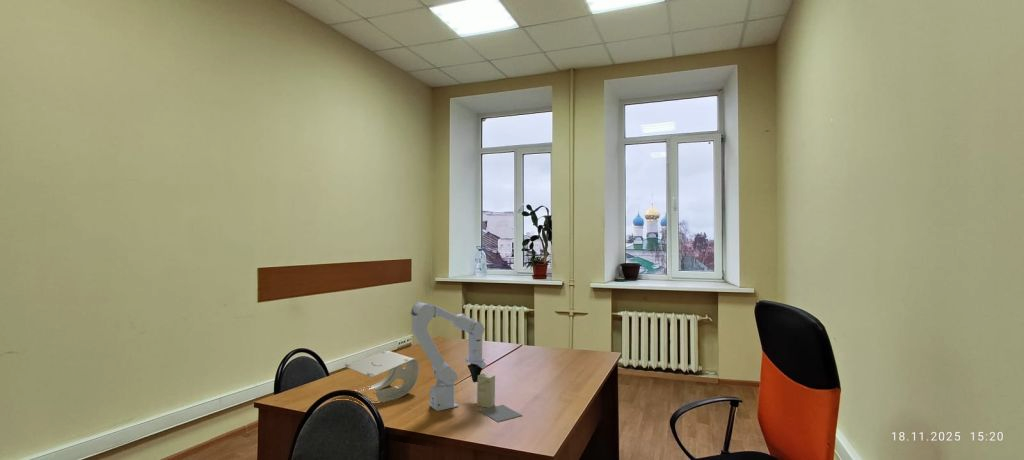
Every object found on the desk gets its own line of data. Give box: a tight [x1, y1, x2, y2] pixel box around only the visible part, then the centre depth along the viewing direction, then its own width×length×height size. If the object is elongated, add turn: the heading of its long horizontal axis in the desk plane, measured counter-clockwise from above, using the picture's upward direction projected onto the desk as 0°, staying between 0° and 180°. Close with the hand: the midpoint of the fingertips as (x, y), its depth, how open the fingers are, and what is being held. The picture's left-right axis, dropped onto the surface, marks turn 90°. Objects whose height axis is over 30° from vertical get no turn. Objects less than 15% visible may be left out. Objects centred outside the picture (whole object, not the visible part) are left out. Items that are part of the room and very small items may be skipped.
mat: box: [479, 404, 523, 423], centre depth 179 cm, size 11×14×1 cm
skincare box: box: [476, 372, 496, 409], centre depth 188 cm, size 6×4×12 cm
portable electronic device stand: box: [344, 350, 420, 403], centre depth 206 cm, size 26×24×16 cm
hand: (475, 381), depth 196 cm, fingers closed
